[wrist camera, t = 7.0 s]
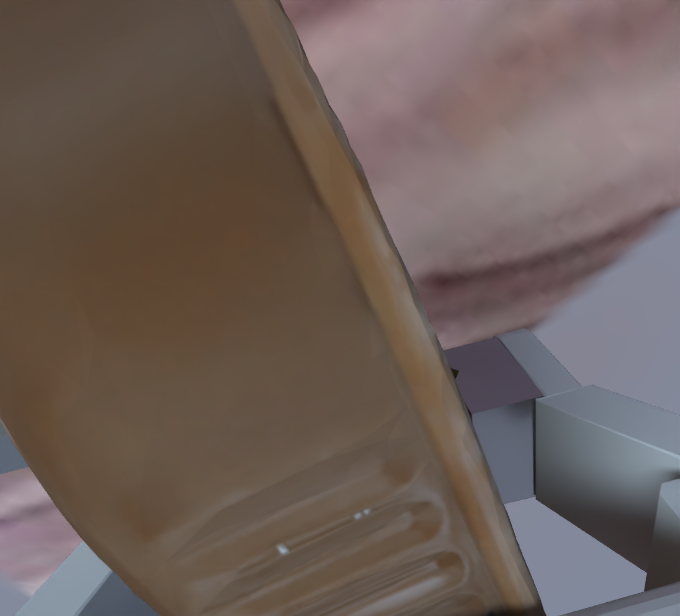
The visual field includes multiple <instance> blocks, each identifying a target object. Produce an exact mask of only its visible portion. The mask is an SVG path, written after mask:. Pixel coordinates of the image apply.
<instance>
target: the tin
mask: <svg viewBox="0 0 680 616" xmlns="http://www.w3.org/2000/svg"><path fill="white" fill-rule="evenodd" d="M0 423H1V424H2V426H3V428H4V429H5V431H6V433H7V434H8V436H9V438H10V439H11V441H12V443H13V444H14V446H15V447H16V449H17V450H18V451H19V453H20V454H21V456H22V457H23V459H24V460H25V462H26V463H27V465H28V466H29V467H30V469H31V470H32V472H33V473H34V475H35V476H36V478H37V479H38V480H39V482H40V483H41V485H42V486H43V488H44V489H45V491H46V492H47V494H48V495H49V496H50V498H51V499H52V501H53V502H54V504H55V505H56V507H57V508H58V509H59V511H60V512H61V514H62V515H63V516H64V517H65V518H66V520H67V521H68V522H69V523H70V525H71V526H72V527H73V528H74V530H75V531H76V532H77V533H78V534H79V536H80V537H81V538H82V539H83V541H84V542H85V543H86V544H87V545H88V547H89V548H90V549H91V550H92V551H93V552H94V553H95V554H96V556H97V557H98V558H99V559H100V560H102V561H103V562H104V563H105V564H106V565H107V566H108V567H109V568H110V569H111V570H112V571H114V572H115V573H116V574H117V575H118V576H119V577H120V578H121V580H122V581H123V582H124V583H125V584H126V585H127V586H128V588H129V589H130V590H131V591H132V592H133V593H134V594H135V595H136V596H138V597H139V598H140V599H142V600H143V601H144V602H146V603H147V604H148V605H149V606H150V607H151V608H152V609H153V610H155V611H156V612H157V613H158V614H159V615H160V616H546V614H545V612H544V609H543V606H542V603H541V599H540V597H539V594H538V591H537V589H536V586H535V584H534V581H533V579H532V576H531V574H530V572H529V569H528V567H527V565H526V562H525V560H524V557H523V555H522V552H521V550H520V547H519V544H518V542H517V540H516V536H515V533H514V530H513V528H512V525H511V522H510V519H509V516H508V513H507V511H506V509H505V507H504V504H503V502H502V499H501V496H500V492H499V489H498V487H497V484H496V482H495V479H494V477H493V474H492V472H491V469H490V467H489V464H488V462H487V459H486V456H485V454H484V451H483V449H482V446H481V444H480V441H479V438H478V436H477V433H476V431H475V428H474V426H473V423H472V420H471V418H470V415H469V413H468V410H467V408H466V405H465V403H464V400H463V397H462V395H461V392H460V390H459V387H458V385H457V382H456V380H455V377H454V375H453V372H452V370H451V368H450V365H449V363H448V361H447V358H446V356H445V354H444V351H443V349H442V347H441V345H440V343H439V340H438V338H437V336H436V334H435V332H434V330H433V327H432V325H431V323H430V321H429V318H428V316H427V314H426V312H425V309H424V307H423V305H422V302H421V300H420V298H419V296H418V293H417V291H416V289H415V286H414V284H413V282H412V280H411V277H410V275H409V273H408V271H407V269H406V267H405V265H404V263H403V261H402V259H401V256H400V254H399V252H398V250H397V248H396V246H395V244H394V242H393V240H392V237H391V235H390V233H389V231H388V228H387V226H386V224H385V222H384V220H383V217H382V215H381V213H380V211H379V208H378V206H377V204H376V202H375V199H374V197H373V195H372V192H371V189H370V187H369V184H368V181H367V179H366V176H365V173H364V170H363V168H362V165H361V164H360V162H359V160H358V158H357V157H356V155H355V153H354V152H353V150H352V148H351V146H350V144H349V141H348V139H347V136H346V134H345V131H344V129H343V126H342V124H341V122H340V121H339V119H338V118H337V116H336V115H335V113H334V111H333V110H332V108H331V107H330V105H329V103H328V101H327V98H326V96H325V94H324V91H323V89H322V87H321V84H320V82H319V80H318V77H317V76H316V74H315V72H314V71H313V69H312V67H311V66H310V64H309V62H308V59H307V57H306V54H305V51H304V49H303V46H302V44H301V42H300V40H299V37H298V35H297V33H296V31H295V28H294V27H293V25H292V23H291V21H290V20H289V18H288V16H287V15H286V13H285V11H284V9H283V6H282V4H281V2H280V0H0Z"/></svg>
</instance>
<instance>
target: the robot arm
mask: <svg viewBox="0 0 680 616" xmlns="http://www.w3.org/2000/svg"><path fill="white" fill-rule="evenodd" d="M443 351H444V354H445V356H446V358H447V361H448V363H449V365H450V368H451V370H452V372H453V375H454V377H455V380H456V382H457V385H458V387H459V390H460V392H461V395H462V397H463V400H464V403H465V405H466V408H467V410H468V413H469V415H470V418H471V420H472V423H473V426H474V428H475V431H476V433H477V436H478V438H479V441H480V444H481V446H482V449H483V451H484V454H485V456H486V459H487V462H488V464H489V467H490V469H491V472H492V474H493V477H494V479H495V482H496V484H497V487H498V489H499V492H500V496H501V499H502V502H503V504H506V503H510V502H514V501H518V500H522V499H527V498H531V497H535V496H536V500H538V501H539V502H541V503H542V504H544V505H545V506H547V507H548V508H550V509H551V510H553V511H555V512H556V513H558V514H559V515H560V516H562V517H563V518H565V519H566V520H568V521H570V522H571V523H572V524H574V525H575V526H577V527H578V528H580V529H581V530H583V531H585V532H586V533H588V534H589V535H591V536H592V537H594V538H595V539H597V540H598V541H600V542H601V543H603V544H604V545H606V546H607V547H609V548H610V549H612V550H613V551H615V552H616V553H618V554H619V555H621V556H622V557H624V558H625V559H627V560H628V561H630V562H632V563H633V564H634V565H636V566H637V567H639V568H640V569H642V570H643V571H645V572H646V573H647V576H646V583H645V589H644V592H641V593H638V594H634V595H631V596H627V597H624V598H620V599H617V600H613V601H610V602H606V603H603V604H599V605H595V606H592V607H588V608H585V609H582V610H578V611H574V612H571V613H567V614H564V615H560V616H680V415H678V414H676V413H673V412H670V411H667V410H664V409H661V408H658V407H655V406H652V405H649V404H647V403H644V402H641V401H638V400H635V399H632V398H629V397H626V396H623V395H620V394H618V393H615V392H611V391H609V390H606V389H603V388H600V387H597V386H594V385H590V386H585V387H582V386H581V385H580V384H579V383H578V382H577V381H576V380H575V379H574V377H573V376H572V375H571V374H570V373H569V372H568V371H567V370H566V369H565V368H564V367H563V366H562V365H561V364H560V362H559V361H558V360H557V359H556V358H555V357H554V356H553V355H552V354H551V353H550V352H549V351H548V349H547V348H546V347H545V346H544V345H543V344H542V343H541V342H540V341H539V340H538V339H537V338H536V337H535V336H534V334H533V333H532V332H531V331H530V330H527V329H525V328H522V329H519V330H515V331H512V332H508V333H505V334H501V335H497V336H494V337H493V338H490V339H486V340H482V341H479V342H475V343H471V344H467V345H463V346H459V347H455V348H451V349H447V350H443ZM15 616H160V615H159V614H158V613H157V612H156V611H155V610H153V609H152V608H151V607H150V606H149V605H148V604H147V603H146V602H144V601H143V600H142V599H140V598H139V597H138V596H136V595H135V594H134V593H133V592H132V591H131V590H130V589H129V588H128V586H127V585H126V584H125V583H124V582H123V581H122V580H121V578H120V577H119V576H118V575H117V574H116V573H115V572H114V571H112V570H111V569H110V568H109V567H108V566H107V565H106V564H105V563H104V562H103V561H102V560H100V559H99V558H98V557H97V556H96V554H95V553H94V552H93V551H92V550H91V549H90V548H89V547H88V545H87V544H86V543H85V542H84V541H82V542H81V543H80V544H79V546H78V547H77V548H76V549H75V550H74V551H73V552H72V553H71V554H70V555H69V556H68V558H67V559H66V560H65V561H64V562H63V563H62V564H61V565H60V566H59V567H58V569H57V570H56V571H55V572H54V573H53V574H52V575H51V576H50V577H49V578H48V579H47V581H46V582H45V583H44V584H43V585H42V586H41V587H40V588H39V589H38V590H37V592H36V593H35V594H34V595H33V596H32V597H31V598H30V599H29V600H28V601H27V602H26V604H25V605H24V606H23V607H22V608H21V609H20V610H19V611H18V612H17V613H16V615H15Z"/></svg>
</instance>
